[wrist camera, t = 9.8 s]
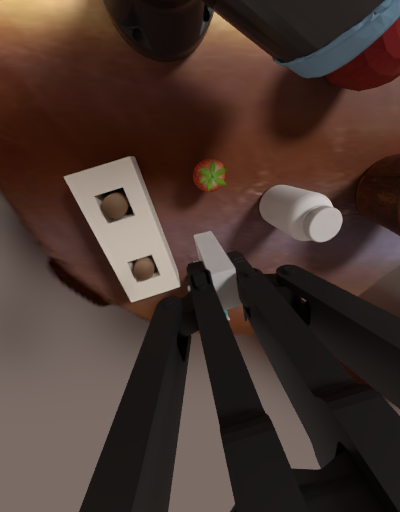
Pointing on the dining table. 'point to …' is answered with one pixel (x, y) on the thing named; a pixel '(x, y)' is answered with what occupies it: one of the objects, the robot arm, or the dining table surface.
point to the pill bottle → (300, 213)
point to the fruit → (209, 175)
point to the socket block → (126, 226)
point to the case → (381, 193)
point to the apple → (372, 63)
